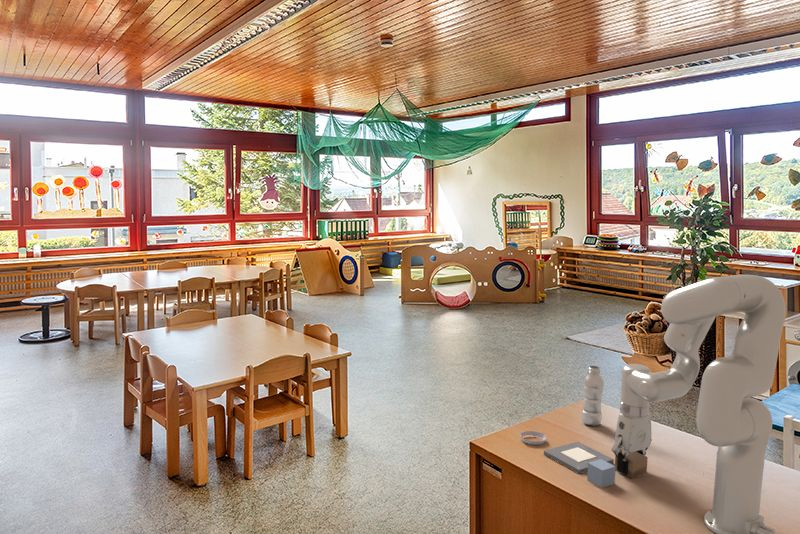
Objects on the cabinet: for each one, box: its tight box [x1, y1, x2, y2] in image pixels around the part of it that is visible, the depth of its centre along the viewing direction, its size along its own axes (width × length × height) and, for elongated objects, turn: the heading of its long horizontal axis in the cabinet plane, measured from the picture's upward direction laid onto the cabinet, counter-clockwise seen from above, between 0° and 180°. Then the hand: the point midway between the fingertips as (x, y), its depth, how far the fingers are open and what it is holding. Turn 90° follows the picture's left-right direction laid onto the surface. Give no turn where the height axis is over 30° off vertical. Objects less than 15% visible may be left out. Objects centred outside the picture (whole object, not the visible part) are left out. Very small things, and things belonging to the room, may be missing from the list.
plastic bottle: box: [580, 365, 605, 426], centre depth 199 cm, size 6×7×20 cm
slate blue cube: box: [586, 459, 616, 489], centre depth 160 cm, size 5×5×5 cm
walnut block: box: [614, 450, 648, 479], centre depth 166 cm, size 6×6×5 cm
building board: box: [543, 441, 615, 475], centre depth 174 cm, size 14×14×1 cm
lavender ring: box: [520, 430, 547, 446], centre depth 187 cm, size 8×8×2 cm
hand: (630, 469), depth 166 cm, fingers closed on walnut block, 6 cm apart
